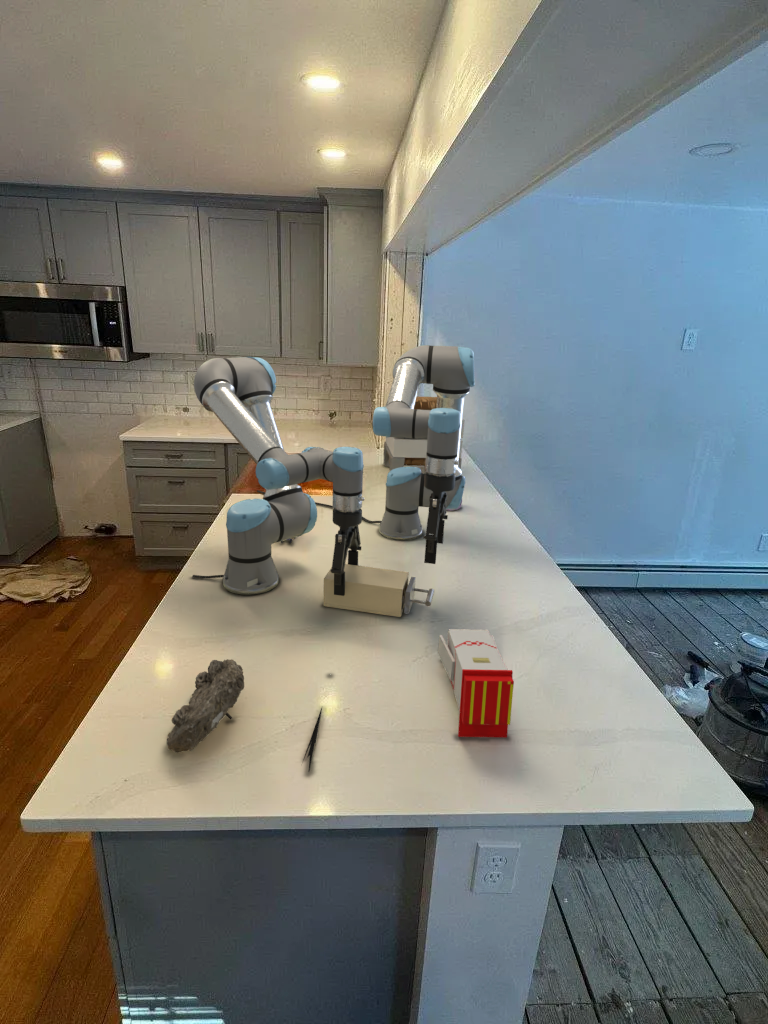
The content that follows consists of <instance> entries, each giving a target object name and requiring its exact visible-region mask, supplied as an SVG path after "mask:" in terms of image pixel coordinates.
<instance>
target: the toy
mask: <svg viewBox="0 0 768 1024" xmlns="http://www.w3.org/2000/svg"><path fill="white" fill-rule="evenodd" d="M446 640H447V643H446V641H445V639H444V636H443V635H442V634H439V637H438V646H437V656H438V657H439V659H440V661H441V663H442V666H443V668H444V670H445V672H446V674H447V677H448V679H449V681H450V684H451V687H452V690H453V693H454V697H455V701H456V705H457V708H458V711H459V714H458V715H459V716H458V730H457V731H458V732H457V737H458V738H508V731H509V726H510V725H511V717H512V707H513V697H514V696H513V695H514V684H515V680H514V679H513V673H514V671H513V670H512V669H508V667H507V665H506V662H505V661H504V659H503V658H502V655H501V653H500V651H499V649H498V647H497V643H496V639H495V637H494V635H493V634H491V632H490V631H489V629H467V628H466V629H465V628H463V629H461V628H460V629H459V628H448V630H447V639H446Z"/></svg>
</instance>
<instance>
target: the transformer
mask: <svg viewBox="0 0 768 1024" xmlns="http://www.w3.org/2000/svg"><path fill="white" fill-rule="evenodd" d="M436 405H437V396H417V395H416V400H415V404H414V409H418V410H432V409H435V408H436ZM464 429H465V419H464V418H462V426H461V437H460V448H459V459H458V461H459V465H458V467H459V468H460V470H461V471H462V461H463V460H462V453H463V442H464V441H463V440H462V439H463V438H464V431H465V430H464ZM426 453H427V440H425V439H413V438H396V437H385V438H384V442H383V466H384V467H388V468H389V472H390V471H391V470H393V469H396V468H400V467H405V466H406V467H417V466H418V467H425V461H426Z"/></svg>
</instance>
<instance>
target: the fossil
mask: <svg viewBox="0 0 768 1024" xmlns="http://www.w3.org/2000/svg"><path fill="white" fill-rule="evenodd" d="M243 670H244V669H243V667H242V665H240V664H237V662H236V661H235V660H234V659H232V658H231V659H227V658H226V659H224V660H223V661H222V660H217V659H212V660H211V661H210V663H209V665H208V666H207V671H201V672H199V673H198V674H197V675H196V676H195V680H194V684H195V685H194V687H195V689H194V690H193V693H192V694H191V697H190V698H189V700H188V704H184V705H182V706H181V707H180V709H177V710H176V711H175V713H174V715H173V716H172V718H171V723H172V724H173V727H172V730H171V731H170V732H168V734H167V738H166V741H167V742H166V745H167V749H168V750H169V751H173V752H174V753H176V754H178V753H182V752H188V751H189V752H192V751H193V750H195V748H196V747H197V746H199V744H200V743H201V742H203V741H204V740H205V739H206V738H207V737H208V736H209V735H210V734H211V733H212V732H214V730H215V729H217V727H218V726H219V724H220V722H221V721H222V720H223V719H224V718H225V716H226V717H227V719H229V720H233V717H232V715H230V714H229V710H230V709H231V708H234V706H235V704H236V703H237V702H238V699H239V697H240V695H241V693H242V691H243V690H245V689H244V688H245V675H244V671H243Z"/></svg>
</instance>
